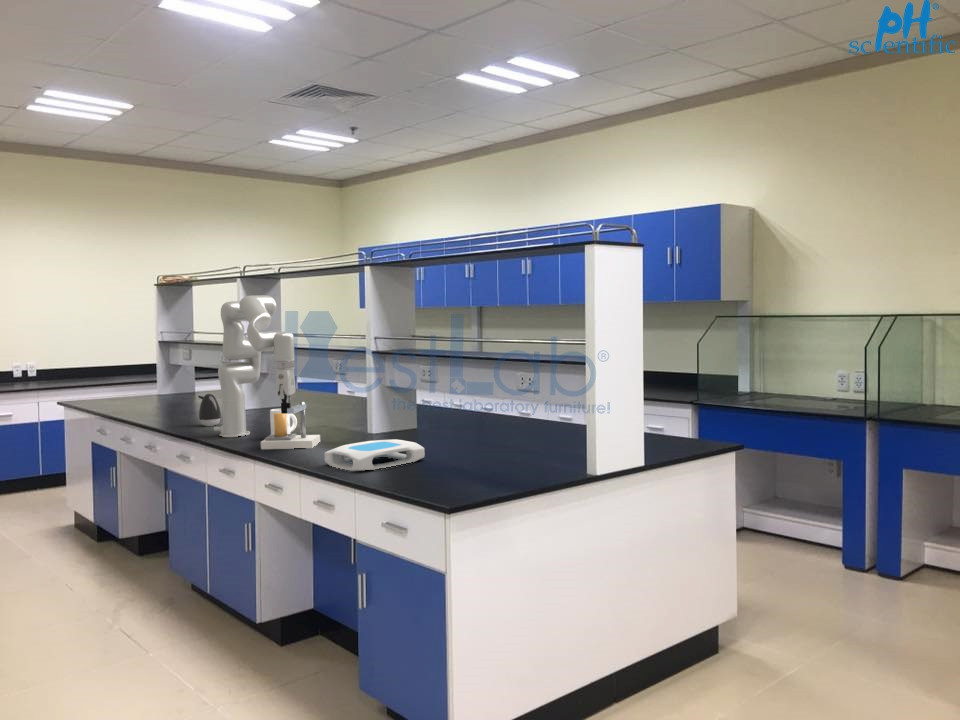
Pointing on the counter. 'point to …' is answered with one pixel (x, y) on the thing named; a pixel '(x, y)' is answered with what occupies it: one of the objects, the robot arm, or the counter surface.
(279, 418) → the plug
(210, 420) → the pump dispenser
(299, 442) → the socket block
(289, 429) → the mug
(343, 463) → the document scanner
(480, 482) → the counter surface
